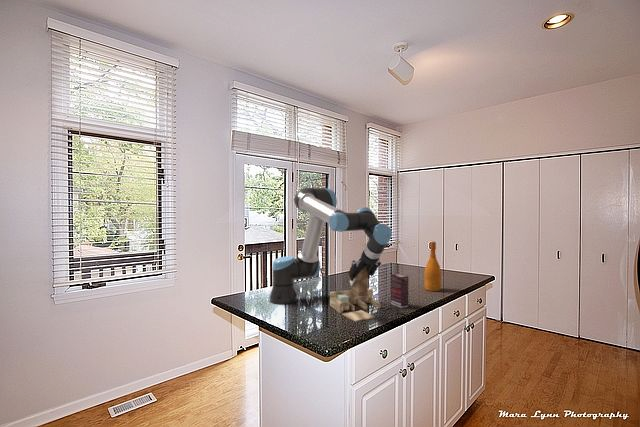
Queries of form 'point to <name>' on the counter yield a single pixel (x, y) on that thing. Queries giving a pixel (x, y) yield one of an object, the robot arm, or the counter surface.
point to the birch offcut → (345, 306)
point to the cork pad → (358, 315)
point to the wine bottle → (432, 271)
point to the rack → (352, 300)
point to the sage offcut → (343, 298)
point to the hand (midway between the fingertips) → (356, 283)
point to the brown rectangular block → (361, 283)
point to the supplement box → (399, 290)
